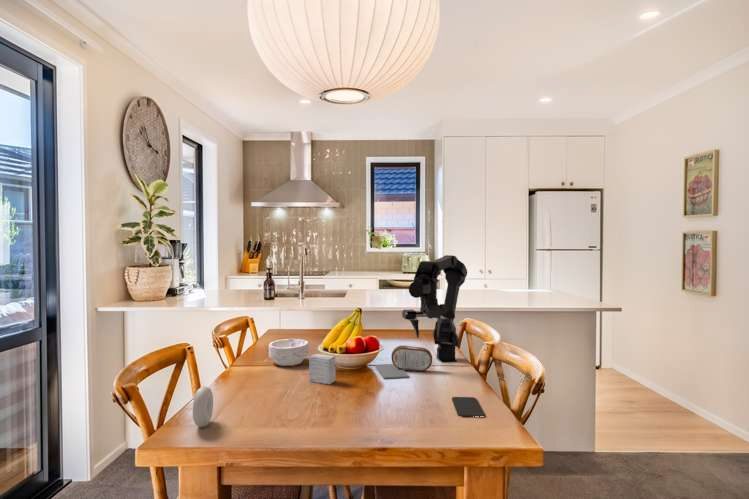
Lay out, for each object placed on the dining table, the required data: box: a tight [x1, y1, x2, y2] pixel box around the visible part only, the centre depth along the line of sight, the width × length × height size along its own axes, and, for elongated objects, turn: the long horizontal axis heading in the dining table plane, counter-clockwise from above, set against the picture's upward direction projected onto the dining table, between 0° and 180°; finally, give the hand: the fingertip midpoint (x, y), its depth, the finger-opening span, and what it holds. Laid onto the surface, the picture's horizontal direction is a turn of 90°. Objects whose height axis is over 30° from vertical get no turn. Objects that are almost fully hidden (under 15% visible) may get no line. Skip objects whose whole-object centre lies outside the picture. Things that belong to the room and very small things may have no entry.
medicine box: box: [308, 353, 336, 385], centre depth 155 cm, size 8×4×9 cm, turn 65°
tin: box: [391, 345, 433, 372], centre depth 168 cm, size 15×3×8 cm, turn 85°
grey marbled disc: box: [192, 385, 214, 428], centre depth 118 cm, size 10×4×10 cm, turn 6°
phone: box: [451, 396, 485, 418], centre depth 132 cm, size 7×1×15 cm
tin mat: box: [374, 363, 410, 380], centre depth 166 cm, size 9×16×1 cm, turn 11°
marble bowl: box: [268, 338, 310, 367], centre depth 177 cm, size 15×15×8 cm
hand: (428, 337), depth 169 cm, fingers open, 8 cm apart
